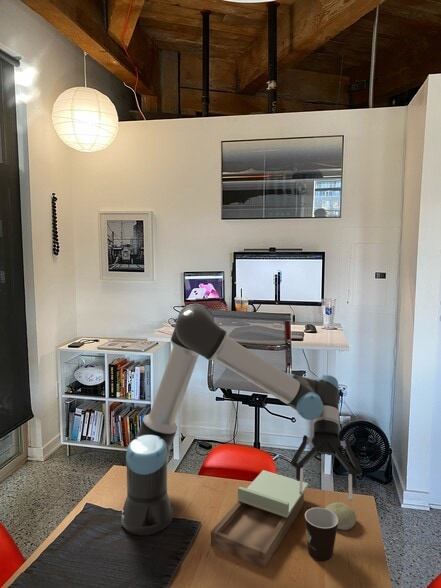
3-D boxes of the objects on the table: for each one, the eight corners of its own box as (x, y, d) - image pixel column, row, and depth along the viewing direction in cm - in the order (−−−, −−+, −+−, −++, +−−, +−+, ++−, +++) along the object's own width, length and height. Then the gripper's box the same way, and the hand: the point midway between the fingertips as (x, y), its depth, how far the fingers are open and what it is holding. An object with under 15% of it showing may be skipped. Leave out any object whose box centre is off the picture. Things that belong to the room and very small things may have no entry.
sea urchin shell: (322, 523, 119) (324, 494, 124) (323, 529, 125) (326, 501, 130) (355, 531, 116) (357, 501, 121) (355, 537, 122) (356, 508, 127)
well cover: (237, 500, 126) (238, 488, 125) (263, 472, 142) (263, 461, 142) (287, 517, 118) (287, 504, 118) (308, 485, 134) (308, 473, 134)
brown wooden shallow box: (210, 545, 113) (210, 531, 112) (257, 490, 139) (257, 479, 138) (264, 568, 105) (265, 553, 105) (303, 505, 131) (303, 493, 130)
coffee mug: (337, 567, 106) (339, 530, 105) (303, 561, 107) (304, 525, 106) (334, 536, 117) (336, 503, 116) (303, 532, 119) (304, 499, 118)
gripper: (367, 432, 130) (370, 506, 117) (286, 424, 135) (281, 493, 123) (369, 423, 124) (373, 499, 111) (285, 414, 130) (280, 486, 117)
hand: (325, 496), depth 117 cm, fingers open, 13 cm apart
